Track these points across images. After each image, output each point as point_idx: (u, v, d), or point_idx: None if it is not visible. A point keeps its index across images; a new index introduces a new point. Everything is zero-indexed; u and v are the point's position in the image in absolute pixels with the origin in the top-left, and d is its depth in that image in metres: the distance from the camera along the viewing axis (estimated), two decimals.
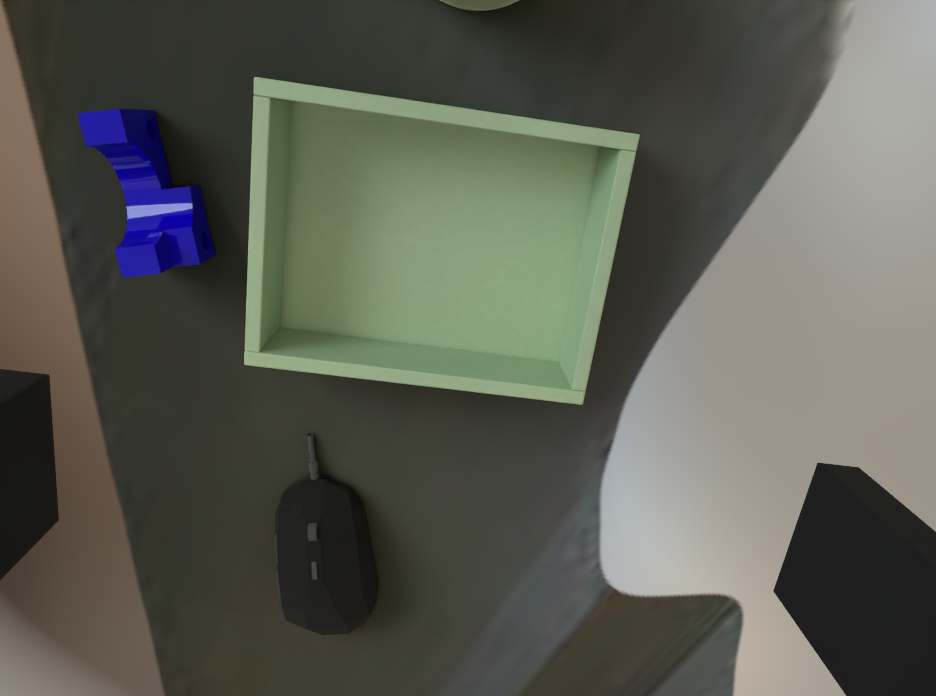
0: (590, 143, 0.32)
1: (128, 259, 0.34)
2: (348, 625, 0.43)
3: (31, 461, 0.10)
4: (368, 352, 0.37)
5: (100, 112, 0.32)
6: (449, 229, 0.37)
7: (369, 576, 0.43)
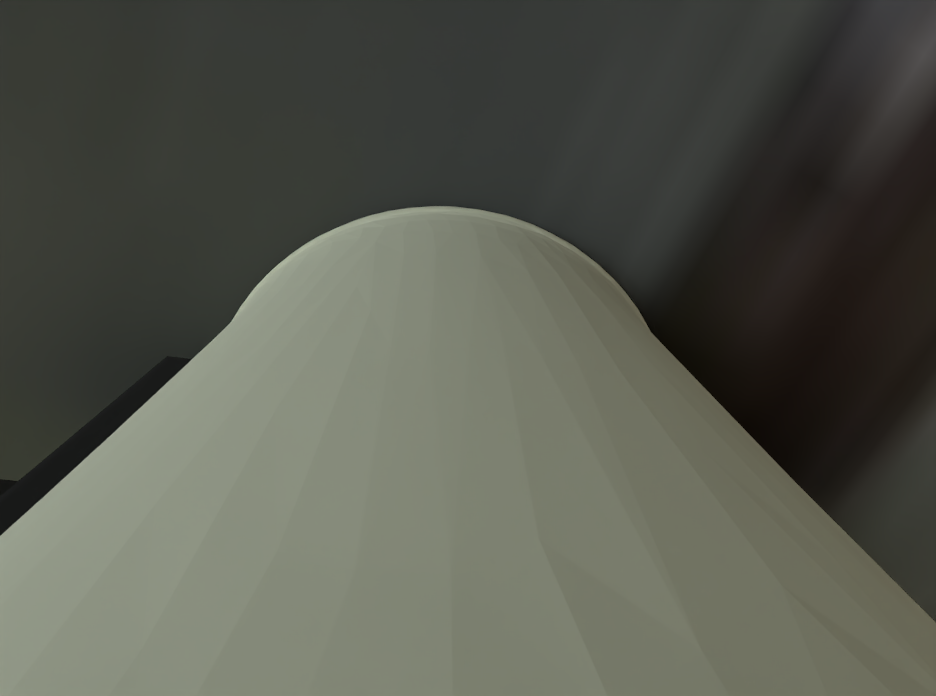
0: None
1: None
2: None
3: None
4: None
5: None
6: None
7: None
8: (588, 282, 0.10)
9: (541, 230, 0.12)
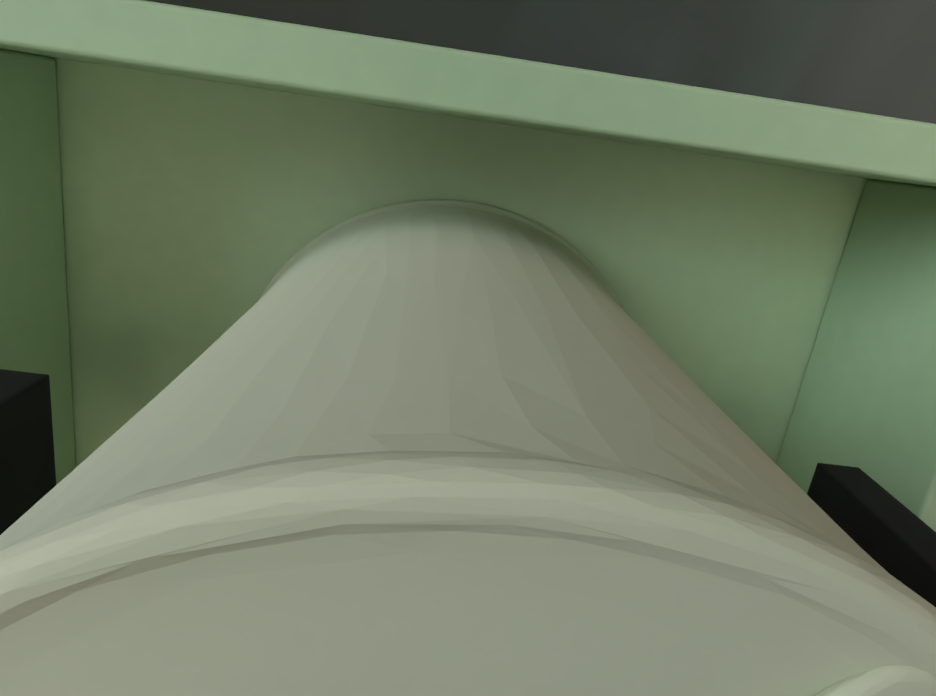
0: None
1: None
2: None
3: (31, 461, 0.10)
4: None
5: None
6: None
7: None
8: (564, 260, 0.11)
9: (527, 220, 0.14)
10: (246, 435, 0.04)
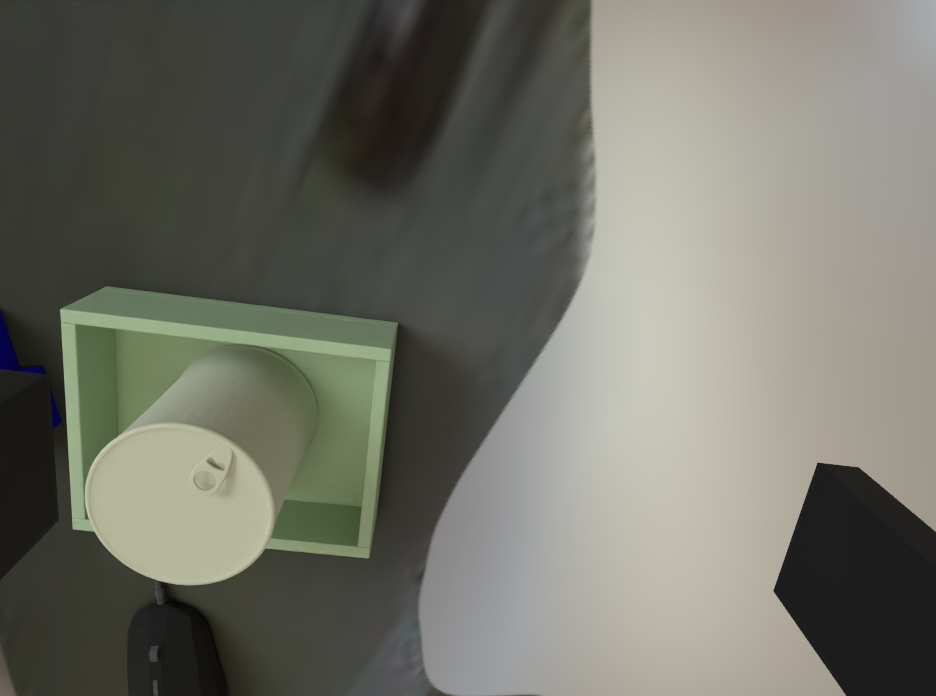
0: (350, 356, 0.37)
1: None
2: None
3: (31, 461, 0.10)
4: None
5: None
6: None
7: (211, 687, 0.49)
8: (264, 371, 0.39)
9: (268, 351, 0.42)
10: (153, 420, 0.32)
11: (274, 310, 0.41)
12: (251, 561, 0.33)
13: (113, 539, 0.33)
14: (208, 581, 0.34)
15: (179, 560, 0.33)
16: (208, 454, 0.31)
